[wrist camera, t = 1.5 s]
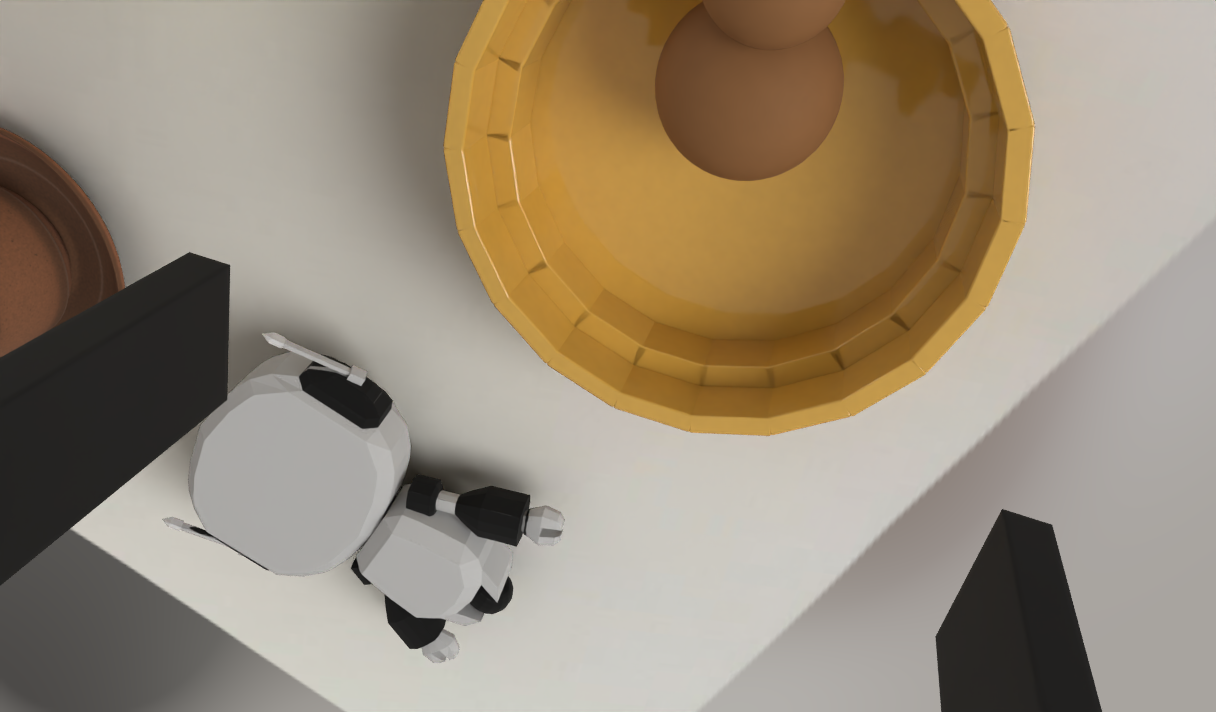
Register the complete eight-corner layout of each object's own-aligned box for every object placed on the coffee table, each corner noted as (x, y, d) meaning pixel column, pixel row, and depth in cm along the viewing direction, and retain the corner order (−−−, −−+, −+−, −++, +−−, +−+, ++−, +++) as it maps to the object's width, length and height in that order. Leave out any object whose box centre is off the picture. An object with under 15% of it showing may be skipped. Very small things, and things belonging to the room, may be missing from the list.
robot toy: (596, 479, 42) (299, 282, 40) (574, 547, 38) (243, 332, 36) (463, 630, 48) (198, 466, 46) (432, 702, 44) (141, 526, 42)
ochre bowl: (545, -202, 30) (488, -213, 26) (1109, -63, 28) (1150, -50, 24) (468, 291, 39) (416, 345, 34) (897, 425, 37) (900, 500, 32)
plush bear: (677, 61, 33) (712, -209, 25) (836, 105, 33) (930, -157, 24) (626, 188, 31) (645, -63, 22) (797, 238, 30) (885, 0, 22)
